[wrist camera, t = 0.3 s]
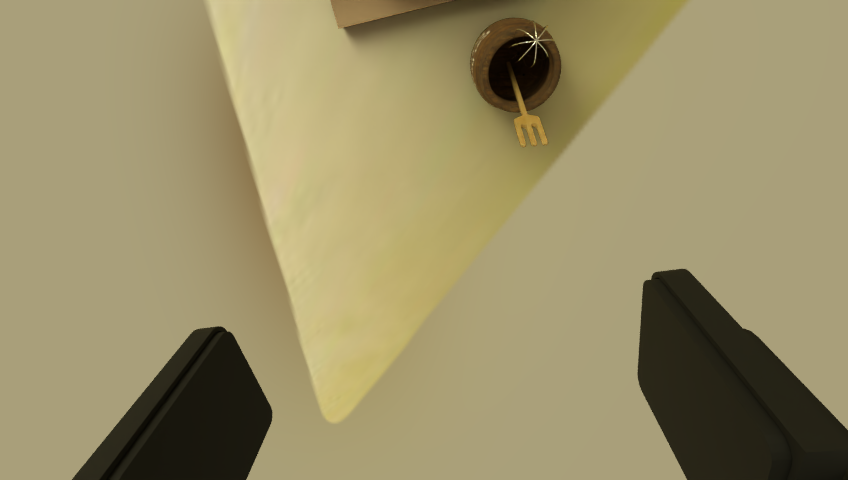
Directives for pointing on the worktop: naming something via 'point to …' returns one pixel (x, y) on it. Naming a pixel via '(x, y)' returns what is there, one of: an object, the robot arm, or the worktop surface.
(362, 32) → the worktop surface
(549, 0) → the worktop surface
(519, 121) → the utensil holder
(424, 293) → the worktop surface
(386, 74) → the worktop surface
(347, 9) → the collar stand
